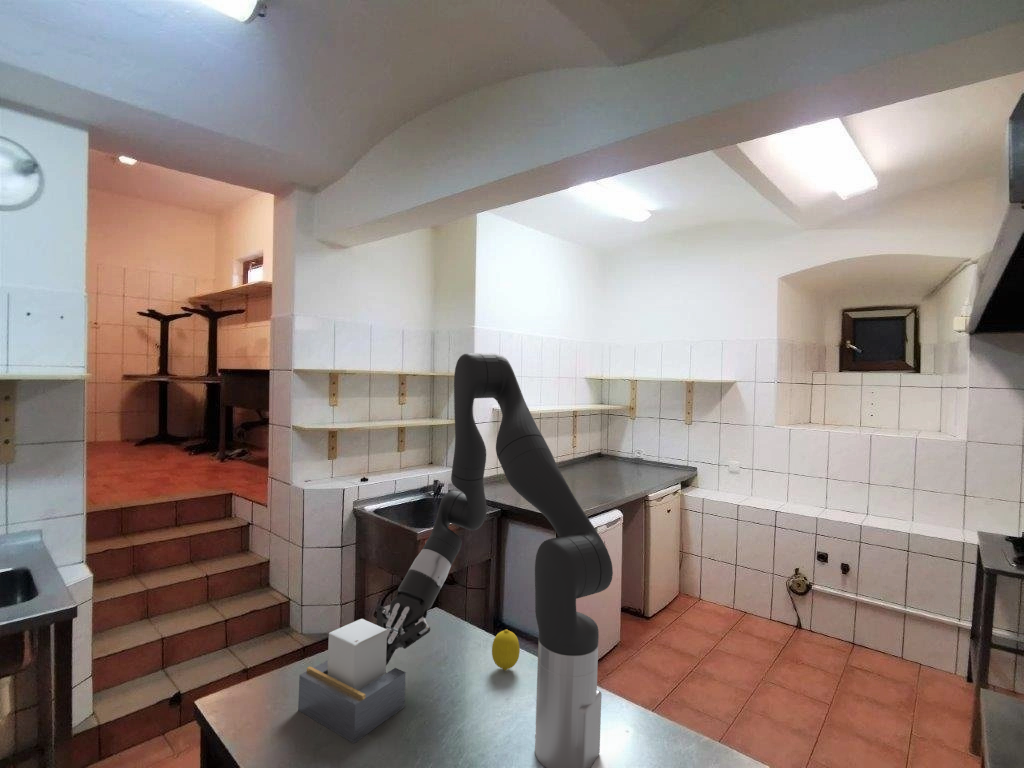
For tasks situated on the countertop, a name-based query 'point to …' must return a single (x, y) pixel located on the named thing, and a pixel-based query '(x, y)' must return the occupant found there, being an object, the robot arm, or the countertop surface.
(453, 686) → the countertop surface
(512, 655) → the lemon
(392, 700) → the cradle
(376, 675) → the supplement box
